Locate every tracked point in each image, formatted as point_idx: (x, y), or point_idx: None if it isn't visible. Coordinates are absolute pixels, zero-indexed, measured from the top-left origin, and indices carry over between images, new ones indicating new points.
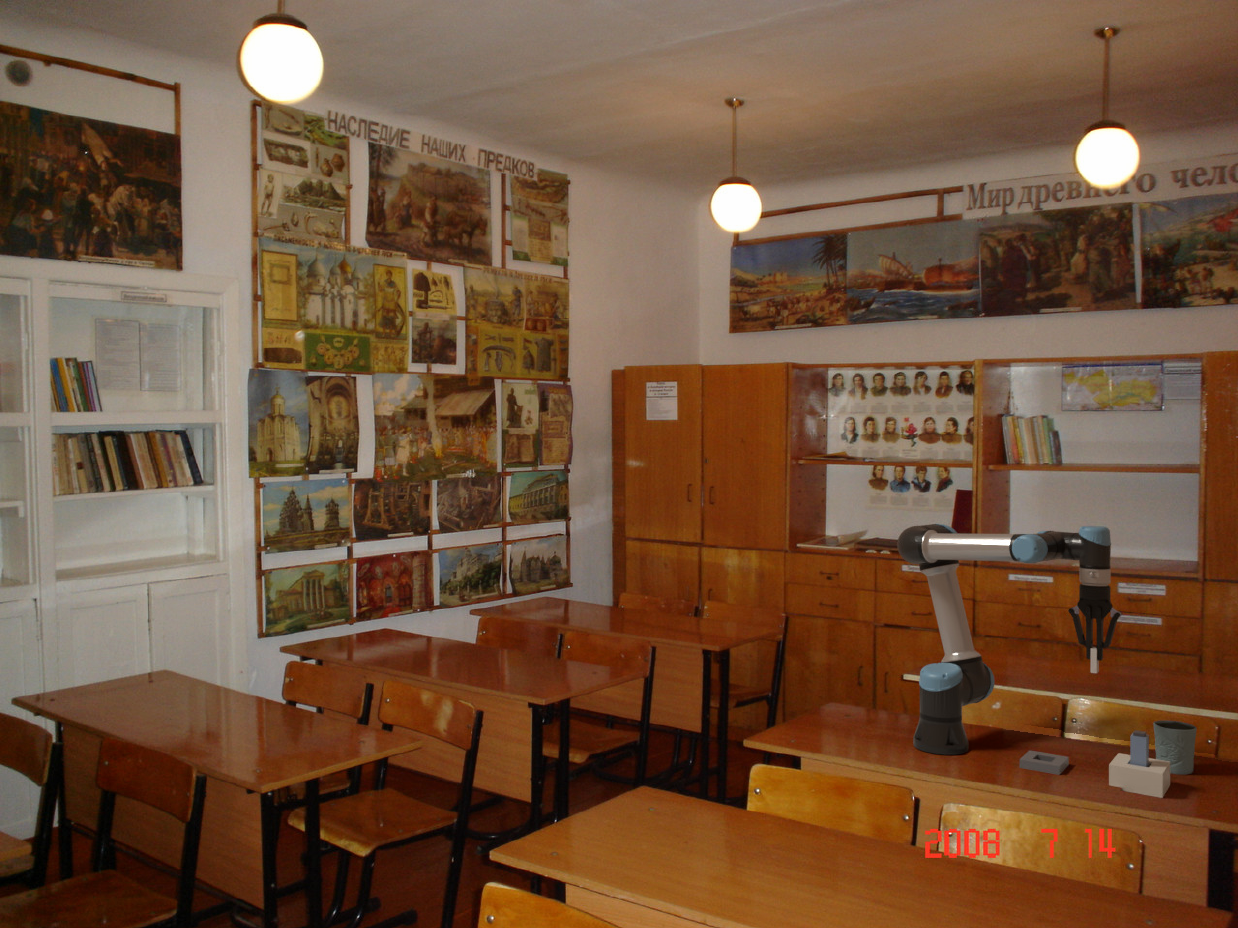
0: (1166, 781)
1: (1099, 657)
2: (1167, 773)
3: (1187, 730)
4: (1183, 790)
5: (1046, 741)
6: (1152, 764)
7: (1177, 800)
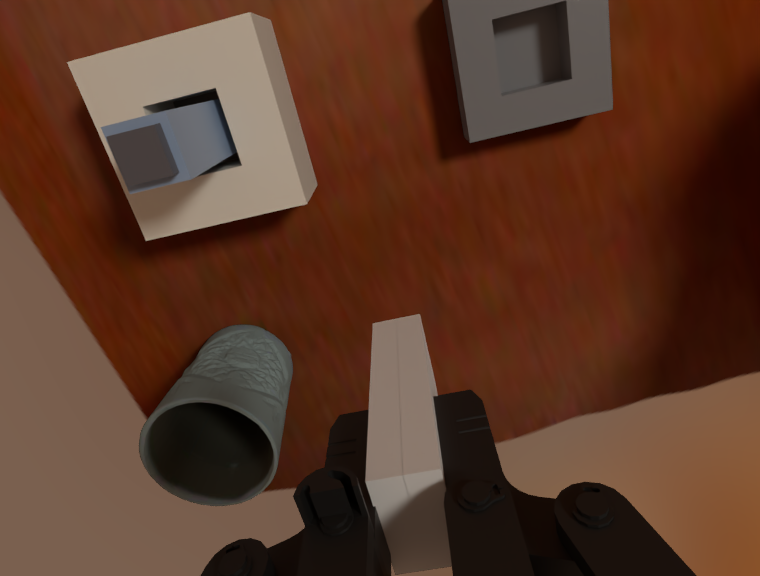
0: None
1: (353, 434)
2: None
3: (144, 424)
4: None
5: (622, 353)
6: None
7: None
